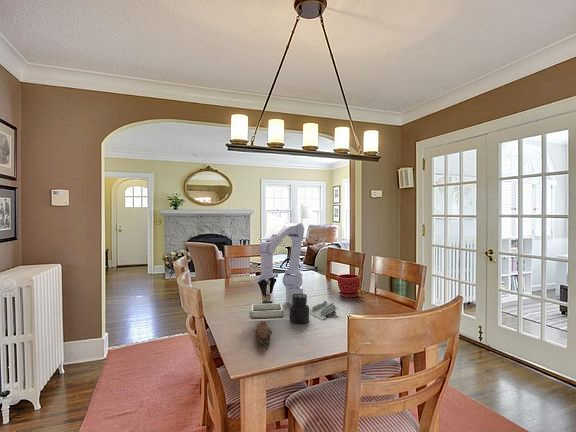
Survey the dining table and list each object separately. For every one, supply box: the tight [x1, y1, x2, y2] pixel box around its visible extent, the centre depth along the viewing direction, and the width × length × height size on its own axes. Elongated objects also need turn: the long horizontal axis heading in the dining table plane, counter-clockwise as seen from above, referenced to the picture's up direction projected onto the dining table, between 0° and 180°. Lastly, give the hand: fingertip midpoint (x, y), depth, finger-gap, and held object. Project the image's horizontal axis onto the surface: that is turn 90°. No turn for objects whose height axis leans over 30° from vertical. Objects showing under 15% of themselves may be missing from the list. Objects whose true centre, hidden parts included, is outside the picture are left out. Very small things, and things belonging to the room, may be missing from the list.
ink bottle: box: [289, 293, 310, 325], centre depth 146 cm, size 10×9×12 cm
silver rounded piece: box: [261, 279, 272, 301], centre depth 156 cm, size 4×4×10 cm
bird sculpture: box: [254, 320, 273, 348], centre depth 125 cm, size 7×25×5 cm, turn 8°
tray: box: [250, 302, 284, 320], centre depth 155 cm, size 15×12×4 cm
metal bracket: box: [309, 300, 339, 321], centre depth 156 cm, size 14×6×15 cm
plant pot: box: [336, 273, 361, 298], centre depth 189 cm, size 13×13×12 cm
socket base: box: [259, 299, 275, 304], centre depth 167 cm, size 8×8×2 cm
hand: (267, 294), depth 155 cm, fingers closed on silver rounded piece, 4 cm apart
